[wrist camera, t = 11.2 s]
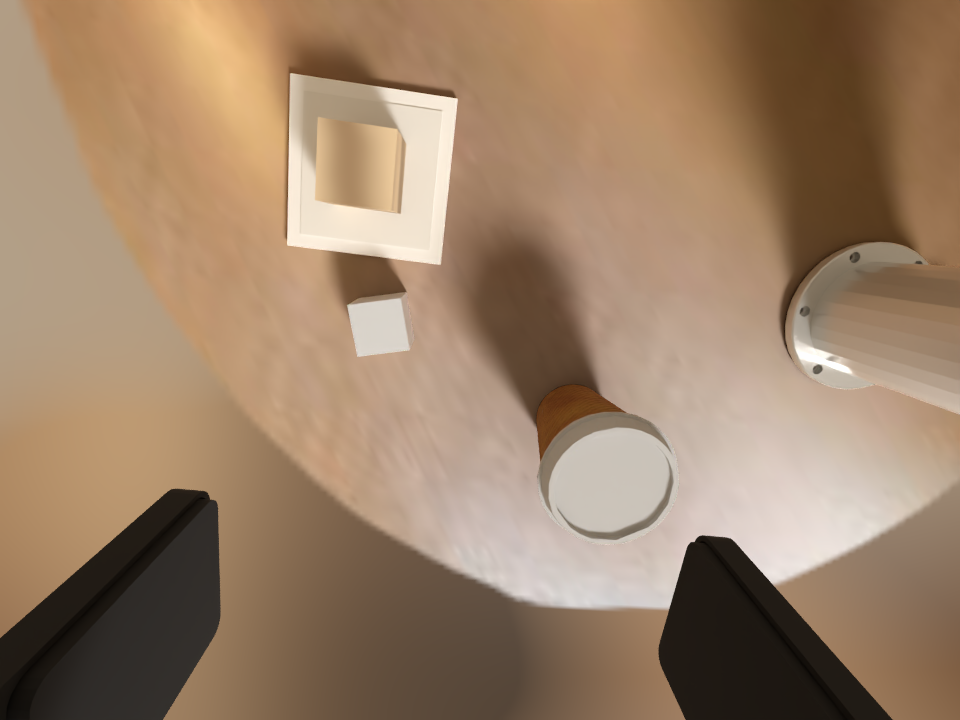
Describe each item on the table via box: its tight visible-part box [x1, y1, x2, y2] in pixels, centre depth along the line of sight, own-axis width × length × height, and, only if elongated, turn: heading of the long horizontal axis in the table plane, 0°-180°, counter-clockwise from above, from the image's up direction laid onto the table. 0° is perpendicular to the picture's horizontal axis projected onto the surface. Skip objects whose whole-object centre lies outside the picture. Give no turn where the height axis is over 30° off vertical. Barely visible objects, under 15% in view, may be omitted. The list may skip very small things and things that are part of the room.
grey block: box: [347, 292, 414, 357], centre depth 36 cm, size 4×4×4 cm
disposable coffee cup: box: [536, 384, 679, 545], centre depth 35 cm, size 10×10×12 cm
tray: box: [287, 73, 458, 265], centre depth 35 cm, size 12×12×1 cm
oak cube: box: [315, 117, 406, 214], centre depth 32 cm, size 5×5×5 cm
